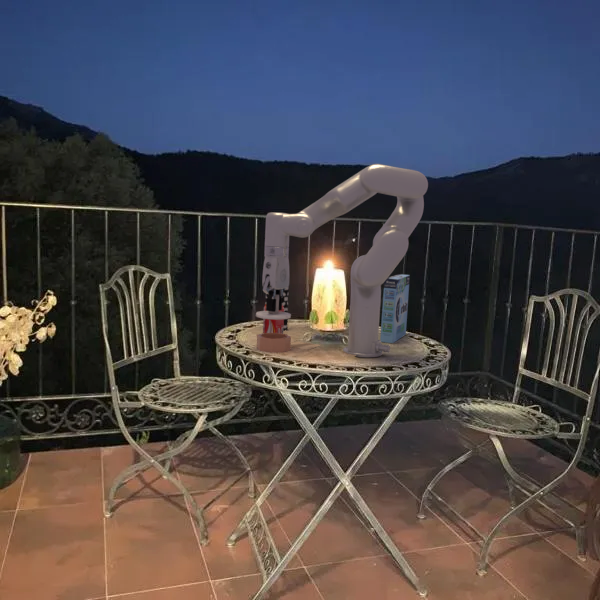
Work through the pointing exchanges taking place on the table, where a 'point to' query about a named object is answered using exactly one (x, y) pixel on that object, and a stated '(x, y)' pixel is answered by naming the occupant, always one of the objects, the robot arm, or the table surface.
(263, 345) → the bowl
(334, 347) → the table surface
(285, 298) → the spotted tube
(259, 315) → the lid
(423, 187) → the robot arm
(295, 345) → the mat
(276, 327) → the soda can
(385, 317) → the gum box
